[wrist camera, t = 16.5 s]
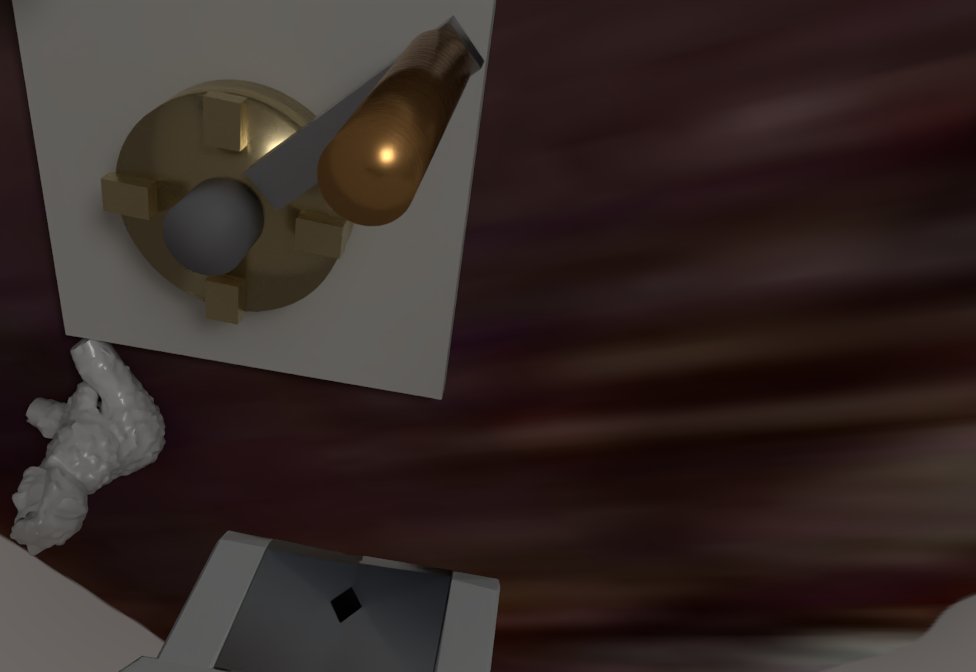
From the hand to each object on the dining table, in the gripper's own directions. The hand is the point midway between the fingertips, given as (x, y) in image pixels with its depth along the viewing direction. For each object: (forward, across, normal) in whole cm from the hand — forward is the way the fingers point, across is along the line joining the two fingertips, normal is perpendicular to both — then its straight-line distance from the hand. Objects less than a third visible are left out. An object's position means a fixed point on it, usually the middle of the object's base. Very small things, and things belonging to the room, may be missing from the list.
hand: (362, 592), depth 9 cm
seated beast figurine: (+37, +24, +30) cm, 54 cm away
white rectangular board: (+37, +14, +12) cm, 41 cm away
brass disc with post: (+36, +11, +9) cm, 38 cm away
